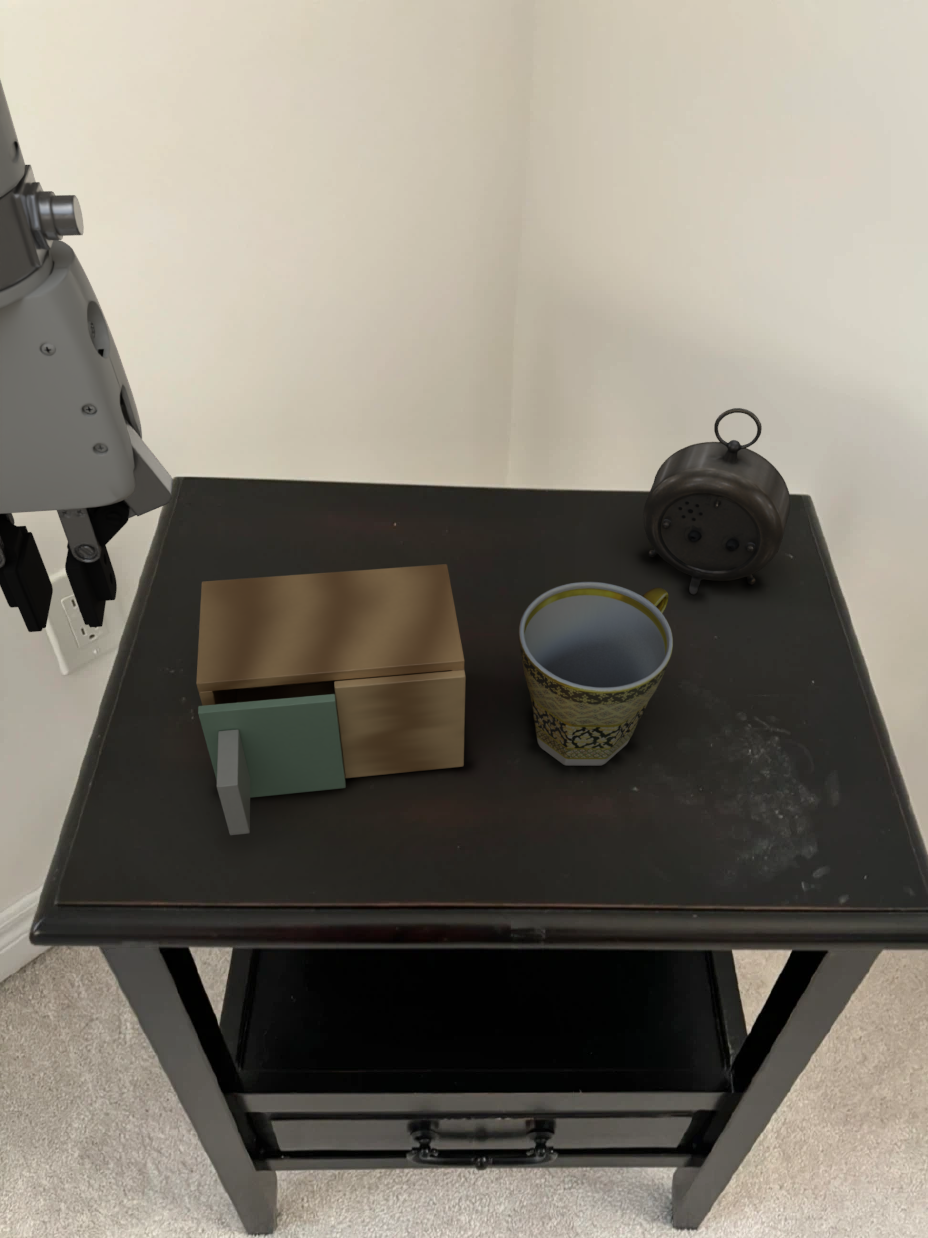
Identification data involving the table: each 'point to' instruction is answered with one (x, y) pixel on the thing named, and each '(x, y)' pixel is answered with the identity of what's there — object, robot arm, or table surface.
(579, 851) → the table surface
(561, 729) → the ceramic cup
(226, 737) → the sliding door
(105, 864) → the table surface
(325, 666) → the cabinet
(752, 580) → the alarm clock
